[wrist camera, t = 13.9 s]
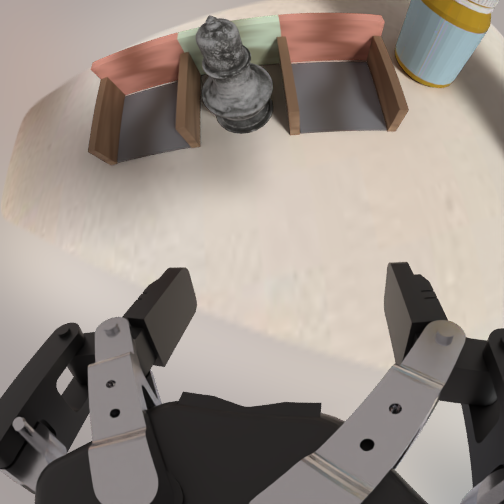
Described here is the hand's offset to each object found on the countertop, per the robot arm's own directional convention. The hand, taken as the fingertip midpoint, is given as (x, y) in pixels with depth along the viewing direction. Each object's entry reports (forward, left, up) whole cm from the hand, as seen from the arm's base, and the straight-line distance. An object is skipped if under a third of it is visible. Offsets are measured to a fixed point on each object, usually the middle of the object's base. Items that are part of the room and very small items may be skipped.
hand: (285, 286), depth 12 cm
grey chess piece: (+3, -16, -12) cm, 20 cm away
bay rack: (+3, -17, -12) cm, 21 cm away
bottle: (-17, -21, -12) cm, 29 cm away
